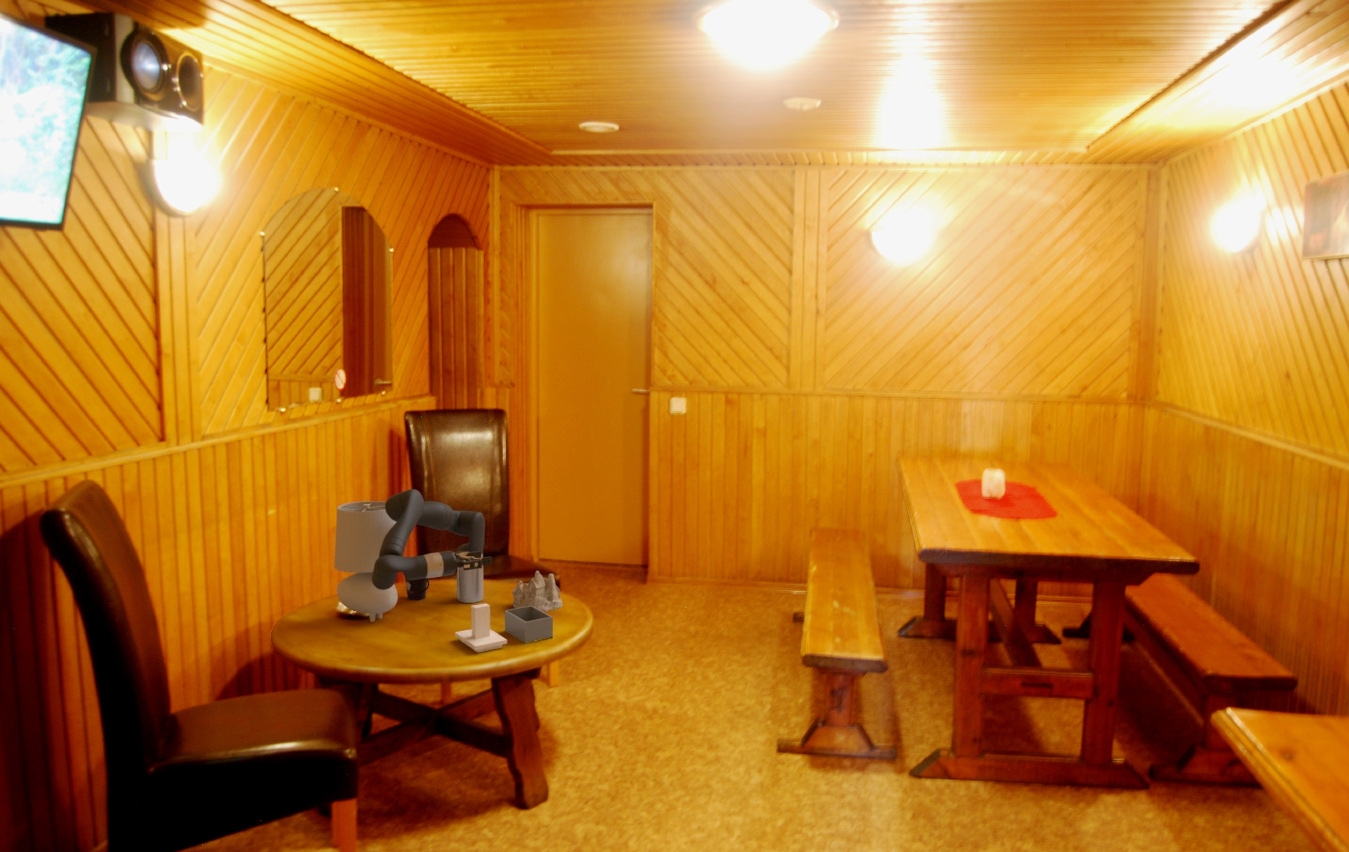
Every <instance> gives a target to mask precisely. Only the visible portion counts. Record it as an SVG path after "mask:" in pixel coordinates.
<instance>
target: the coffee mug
mask: <svg viewBox="0 0 1349 852" xmlns="http://www.w3.org/2000/svg"><path fill="white" fill-rule="evenodd" d="M404 581H405V583H404V584H405V588H406V595H407V597H406V598H407V600H408V599H409V600H408V601H412V600H417V601H423V600H425V599H426V596H427V590H428V589H429V587H430V580H429V578H423V579H416V580H407V579H406V578H405V577H404ZM422 599H423V600H422Z"/></svg>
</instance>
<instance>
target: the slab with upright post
mask: <svg viewBox="0 0 1349 852" xmlns="http://www.w3.org/2000/svg"><path fill="white" fill-rule="evenodd" d="M470 607H471V609H470V610H471V613H470V614H471V629H466V630H461V631H455V632H454V633H455V634H454V635H455V637H456V638H457V639H459V641H460V642H462V643H463V644H464V645H465V646H467V647H469V648H470V649H471V650H473V651H474V652H476V653H482V652H487V651H493V650H498V649H500V648H503V645H506V644H508V639H506V638H505V637H503V636H502V635H500V634H499V633H497V632H496V631H494V630H493V629H491V605H490V604H488V603H486V602H485V603H479V604H474V605H471V606H470Z"/></svg>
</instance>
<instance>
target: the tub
mask: <svg viewBox="0 0 1349 852" xmlns="http://www.w3.org/2000/svg"><path fill="white" fill-rule="evenodd" d="M553 628H554V616H552V615H550V614H548V613H547V612H543V611H541V610H539V609H537V608H535V607H533V606H527V607H521V608H510V609H506V610H504V632H505V633H508V634H509V633H510V635H511V636H513V637H514V638H516V639H517V640H519V641H520V640H521V642H522V643H524V644H529V643H528V642H530V643H534V642H533V641H535V640H539V639H545V638H549V639H551V638H550V637H553V636H554V629H553ZM553 638H554V637H553ZM545 640H546V639H545ZM535 642H536V641H535Z"/></svg>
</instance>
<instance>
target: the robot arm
mask: <svg viewBox="0 0 1349 852" xmlns="http://www.w3.org/2000/svg"><path fill="white" fill-rule="evenodd" d="M385 502H386V504H385V510H386V513H387V515H388V516H389V517H390V518H391V519H392V520H394V521H396V523H395V524H394V526H393V527H392V528H391V529H390V530H389V531H388V533H387V534H386V536H385V538H384V540H383V543H382V546H381V549H380V553H379V558H378V559H377V560H376V562H375V564H374V569H373V573H372V583H373V585H374V586H375V587H376V588H377V589H380V590H386V589H389V588H391V587H392V586H393V585H395V584H396V580H397V576H398V573H403V576H404V579H405V578H406V579H407V580H416V579H423V578H427V579H431V578H432V579H433V578H439V577H446V576H451V575H454V574H456V599H457V601H458V602H460V603H468V604H472V603H479V602H482V601H483V600H484V566H486V565H492V564H493V562H494V561H493V556H485V557H484V547H485V534H486V533H485V531H486V530H485V529H486V520H485V517H484V514H483V513H482V512H480V511H471V510H453V508H452V507H451V506H450V505H448V504H447V503H443V502H439V501H433V500H429V501H428V500H427V501H425V500H424V497H423V495H422V493H421V492H420V491H419V490H417V489H415V488H411V489H407V490H403V491H401V492H399V493H396V494H393V495H391V496H390V497H389V498H387V499H386V501H385ZM416 525H418V526H424V527H428V528H431V529H435V530H440V531H445V530H446V531H449V532H450V533H453V534H455V535H456V536H457V535H458V536H462V537H469V542H468V543H464V544H461V545H459V546H458V547H457V549H456V551H454V552H453V551H452V550H444V551H438V552H430V553H426V554H423V555H422V554H421V555H415V556H404V553H405V550H406V546H407V544H408V541H409V539H410V536H411V534H412V532H413V531H414V529H415V527H416ZM456 570H457V573H455V572H456Z"/></svg>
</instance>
